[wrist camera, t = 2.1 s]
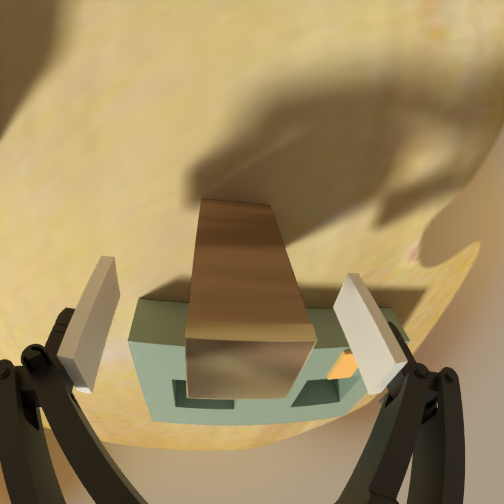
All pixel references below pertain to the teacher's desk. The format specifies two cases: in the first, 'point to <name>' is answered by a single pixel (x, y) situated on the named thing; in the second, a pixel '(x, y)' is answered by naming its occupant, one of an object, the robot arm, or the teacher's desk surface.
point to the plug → (243, 307)
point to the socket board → (246, 410)
